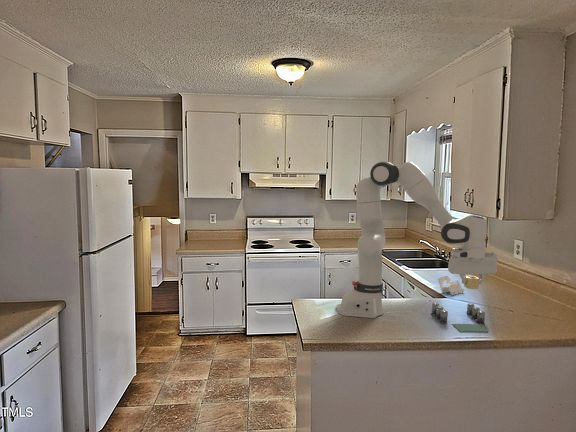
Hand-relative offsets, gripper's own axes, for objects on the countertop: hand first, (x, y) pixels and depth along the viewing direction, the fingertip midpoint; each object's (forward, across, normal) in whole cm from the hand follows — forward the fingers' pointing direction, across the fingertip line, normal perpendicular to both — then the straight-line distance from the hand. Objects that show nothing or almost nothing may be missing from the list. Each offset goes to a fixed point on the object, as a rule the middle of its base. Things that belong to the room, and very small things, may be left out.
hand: (471, 283), depth 171 cm
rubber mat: (+20, 0, +2) cm, 20 cm away
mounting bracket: (+20, -14, -51) cm, 56 cm away
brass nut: (+2, 0, 0) cm, 2 cm away
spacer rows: (+20, 0, -10) cm, 22 cm away
